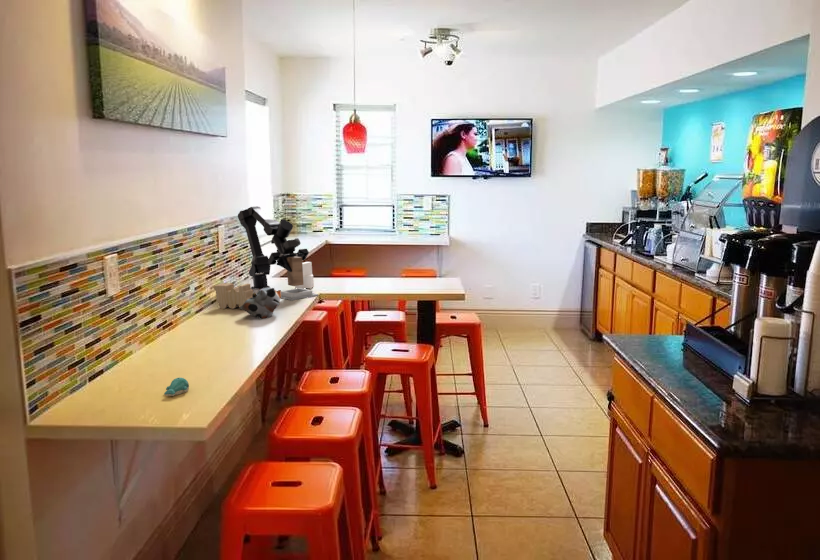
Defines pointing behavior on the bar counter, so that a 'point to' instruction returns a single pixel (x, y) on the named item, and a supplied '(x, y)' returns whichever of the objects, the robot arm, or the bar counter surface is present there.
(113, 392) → the bar counter surface
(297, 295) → the bay tray
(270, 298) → the lucky cat figurine
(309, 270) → the cylinder with rectangular tab
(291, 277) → the tapered wooden block
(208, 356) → the bar counter surface
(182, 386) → the whale figurine
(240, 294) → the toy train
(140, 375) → the bar counter surface
